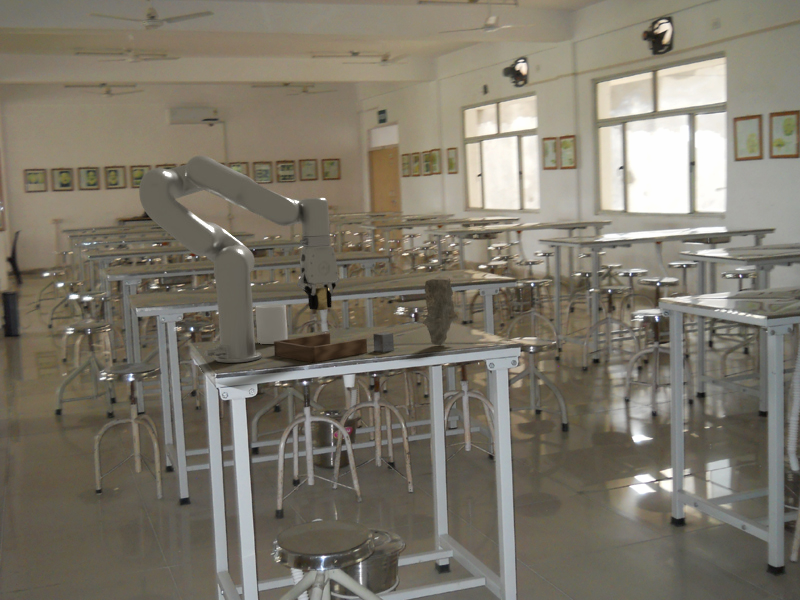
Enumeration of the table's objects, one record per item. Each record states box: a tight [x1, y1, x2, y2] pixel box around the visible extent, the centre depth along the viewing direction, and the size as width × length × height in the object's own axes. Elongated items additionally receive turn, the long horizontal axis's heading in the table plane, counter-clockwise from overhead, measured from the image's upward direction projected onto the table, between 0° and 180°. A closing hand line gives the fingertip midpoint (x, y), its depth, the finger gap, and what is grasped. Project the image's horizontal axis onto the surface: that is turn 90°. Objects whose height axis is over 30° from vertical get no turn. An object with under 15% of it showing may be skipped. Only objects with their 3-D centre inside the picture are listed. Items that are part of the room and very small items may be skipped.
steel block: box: [373, 331, 395, 353], centre depth 233 cm, size 4×4×5 cm
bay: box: [273, 332, 368, 363], centre depth 232 cm, size 19×18×4 cm
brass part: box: [312, 286, 328, 311], centre depth 227 cm, size 4×4×6 cm
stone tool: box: [422, 276, 459, 346], centre depth 238 cm, size 12×6×20 cm, turn 118°
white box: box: [255, 303, 288, 345], centre depth 257 cm, size 10×12×12 cm
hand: (320, 307), depth 227 cm, fingers closed on brass part, 4 cm apart
